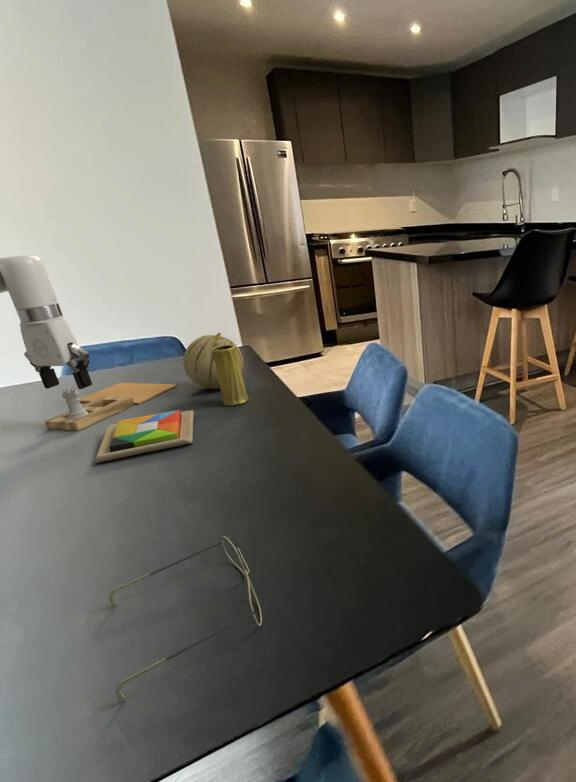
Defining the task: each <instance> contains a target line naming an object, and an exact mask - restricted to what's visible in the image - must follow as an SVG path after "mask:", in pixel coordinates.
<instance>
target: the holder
mask: <svg viewBox="0 0 576 782" xmlns="http://www.w3.org/2000/svg"><path fill="white" fill-rule="evenodd" d="M81 405H82V407H83V408H84V410H86V412H88V413H89V414H86V415H84V416H82V417H80V418H77V419H71V418H68V416H69V410H67V411H65V412H63V413H61V414H58V415H55V416H53V417H51V418H49V419H47V420H44V424H45V426H46V429H47V430H61V431H78V432H79V431H81V430H84V429H86V428H88V427H90V426H92V425H94V424H96V423H98V422H100V421H102V420H105V419H107V418H110V417H111V416H113V415H115V414H117V413H120V412H121V411H123V410H126V409H127V408H130V407H132V406H134V405H135V404H134V401H133V398H132V397H111V396H103V397H101V398H98V399H96V400H93V401H91V402H89V403H88V402H85V404H81Z"/></svg>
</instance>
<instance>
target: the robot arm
mask: <svg viewBox="0 0 576 782" xmlns="http://www.w3.org/2000/svg"><path fill="white" fill-rule="evenodd" d="M6 292H8V294H9V297H10V299H11V301H12V305H13V306H14V309H15V311H16V313H17V316H18V318H19V321H20V322H19V329H20V334H21V337H22V341H23V344H24V347H25V350H26V351H25V352H24V353H23V355H24V356H25V358H26V359H27V360H28V362H29V364H30V365H31V366H32V367H33V368H34V370H35V372H36V373H38V374H39V377H40V380H41V381H42V384H43V387H44V389H51V388H53V387H57V386H58V385H60V381H59V378H58V376H57V373H56V371H55V368H53V367H64V366H66V365H67V366H68V367H69V368H70V369H71V370H72V371H73V372H72V376H73V378H74V381H75V384H76V386H77V388H78V389H79V390H83V389H86V388H89V387H91V386H92V385H93V382H92V379H91V376H90V374H89V370H88V369H89V364H90V352H89V351H88V350H86V349H84V348H82V347H80V346H79V344H78V342H77V339H76V337H75V335H74V333H73V331H72V329H71V327H70V325H69V323H68V322H67V320H66V319H65V318H64V314H63V312H62V309H61V307H60V304H59V302H58V299H57V296H56V294H55V290H54V288H53V285H52V283H51V280H50V277H49V274H48V272H47V269H46V267H45V264H44V262H43V260H42V259H41V258H40V257H39V256H37V255H32V254H28V255H15V256H6V257H0V294H1V293H6ZM75 363H76V364H75Z"/></svg>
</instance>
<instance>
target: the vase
mask: <svg viewBox="0 0 576 782" xmlns="http://www.w3.org/2000/svg"><path fill="white" fill-rule="evenodd" d="M212 354H213V357H214V361H215V365H216V369H217V374H218V379H219V383H220V388H219V390H220V393H221V394H220V395H221V398H222V404H223V405H224V406H227V407H233V406H234V405H236V406H239V405H238V404H240V405H243V404H245V403H247V402H248V401H249V400H250V399H249V396H248V393H247V388H246V386H245V382H244V381H245V380H244V379H243V374H242V372H241V370H240V366H239V363H238V359H237V355H236V351H235V346H234V345H222V346H217V347H214V348H212ZM242 403H243V404H242ZM234 407H235V406H234Z"/></svg>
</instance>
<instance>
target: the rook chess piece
mask: <svg viewBox="0 0 576 782" xmlns="http://www.w3.org/2000/svg"><path fill="white" fill-rule="evenodd" d="M79 393H80V392H79V391H77V390H76V388H70V389H66V390H62V395H61V397H62V398H63V399H65V404H67V408H68V411H69V416H68V418H71V419H77V418H80V417H82V416H84V415H86V414H89V413H88V412H86V410H84V408H83V407H82V405H83V404H81V403H82V402H80V401H79V400H80V399H81V398H80V397H79Z"/></svg>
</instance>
